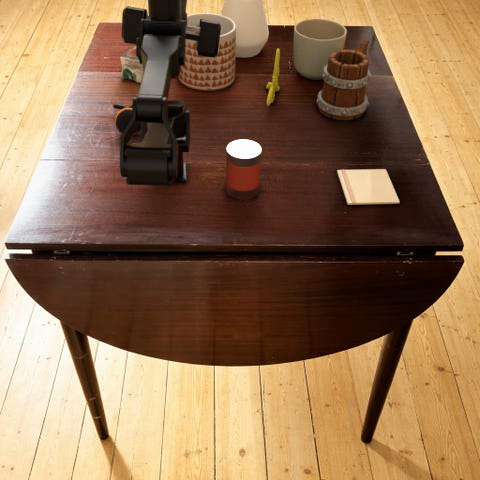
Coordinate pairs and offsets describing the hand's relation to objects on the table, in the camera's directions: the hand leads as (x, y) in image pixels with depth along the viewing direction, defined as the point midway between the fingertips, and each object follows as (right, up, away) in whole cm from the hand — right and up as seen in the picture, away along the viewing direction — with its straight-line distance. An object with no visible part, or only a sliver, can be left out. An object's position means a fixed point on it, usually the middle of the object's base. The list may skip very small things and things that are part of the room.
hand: (175, 23), depth 124 cm
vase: (+5, -2, +24) cm, 25 cm away
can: (+14, -35, -7) cm, 39 cm away
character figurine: (-10, -19, +8) cm, 23 cm away
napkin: (+38, -34, -5) cm, 52 cm away
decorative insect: (+20, -10, +18) cm, 28 cm away
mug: (+37, -11, +17) cm, 42 cm away
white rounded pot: (+14, +10, +36) cm, 39 cm away
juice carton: (-7, +2, +27) cm, 28 cm away
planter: (+32, 0, +27) cm, 42 cm away
